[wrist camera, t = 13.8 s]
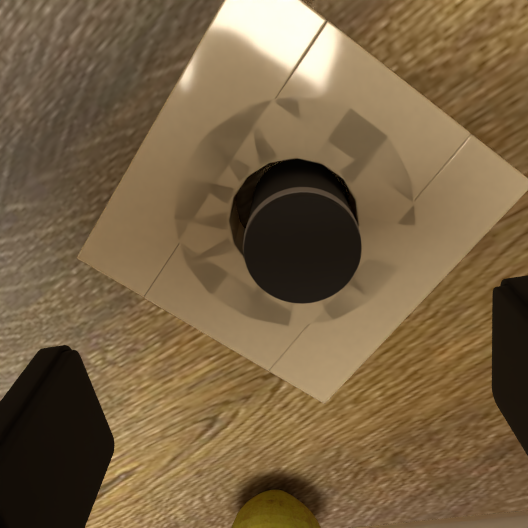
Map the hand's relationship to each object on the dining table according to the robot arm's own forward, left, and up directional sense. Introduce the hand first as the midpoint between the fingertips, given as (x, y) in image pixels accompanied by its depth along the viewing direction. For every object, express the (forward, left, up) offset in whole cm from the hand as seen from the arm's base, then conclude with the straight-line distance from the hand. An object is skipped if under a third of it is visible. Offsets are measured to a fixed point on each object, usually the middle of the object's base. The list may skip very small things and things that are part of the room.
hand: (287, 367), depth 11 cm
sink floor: (+1, 0, -14) cm, 14 cm away
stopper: (+1, 0, -14) cm, 14 cm away
